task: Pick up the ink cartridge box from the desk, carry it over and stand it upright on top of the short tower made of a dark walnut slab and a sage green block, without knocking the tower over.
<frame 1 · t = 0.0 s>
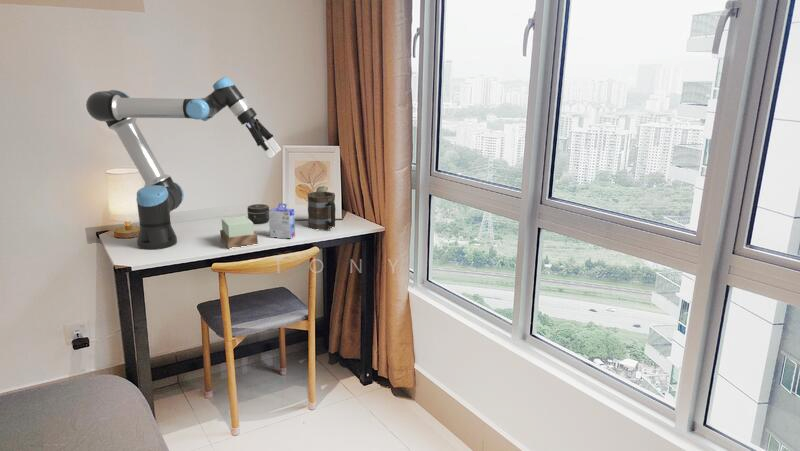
hand: (276, 153, 236), 36 cm above the table, tool tilted 35°, fingers open, 13 cm apart
ink cartridge box: (282, 237, 244), on the table
jar: (258, 222, 267), on the table
mug: (324, 227, 259), on the table
sage top block: (237, 232, 233), point 5 cm above the table, touching walnut base block
walnut base block: (239, 243, 235), on the table, touching sage top block
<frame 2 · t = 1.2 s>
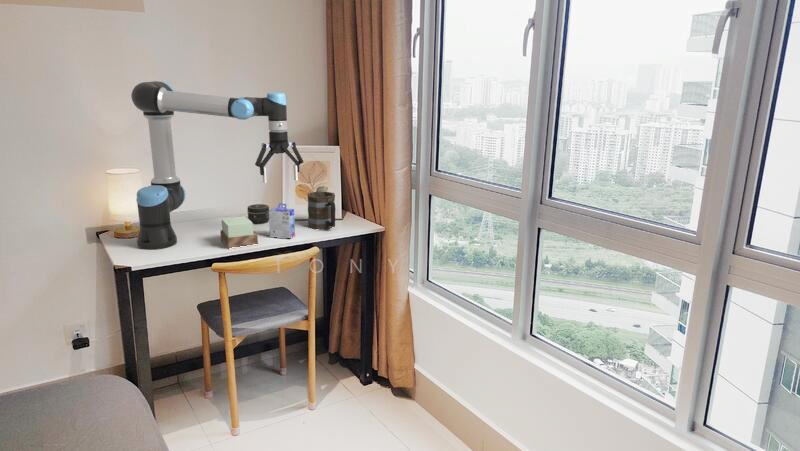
hand: (280, 181, 237), 24 cm above the table, tool pointing down, fingers open, 13 cm apart
nothing on the table moved.
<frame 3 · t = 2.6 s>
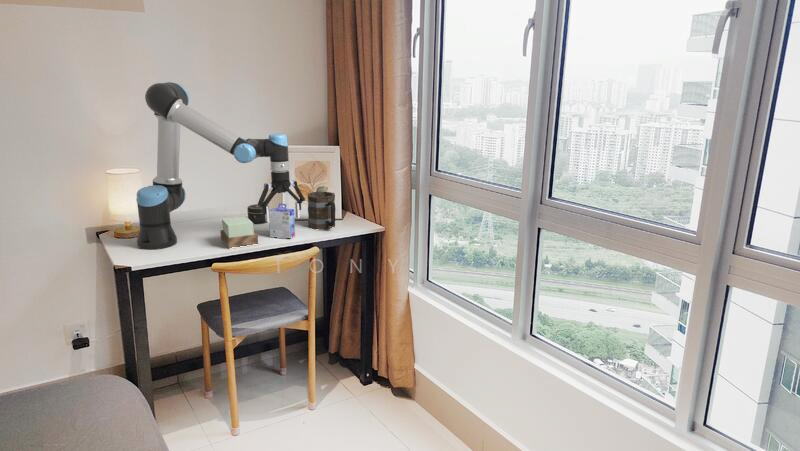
hand: (282, 219, 242), 8 cm above the table, tool pointing down, fingers open, 13 cm apart
nothing on the table moved.
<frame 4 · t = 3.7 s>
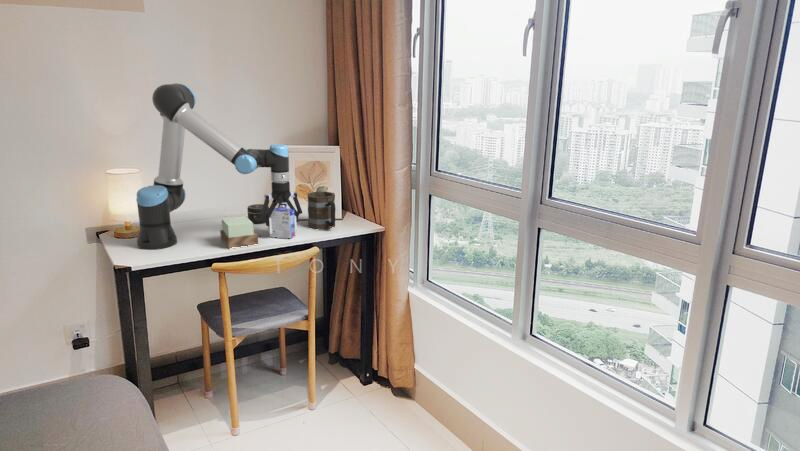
hand: (282, 231, 243), 2 cm above the table, tool pointing down, fingers closed on ink cartridge box, 10 cm apart
ink cartridge box: (282, 237, 244), on the table, touching gripper
everything else where it was.
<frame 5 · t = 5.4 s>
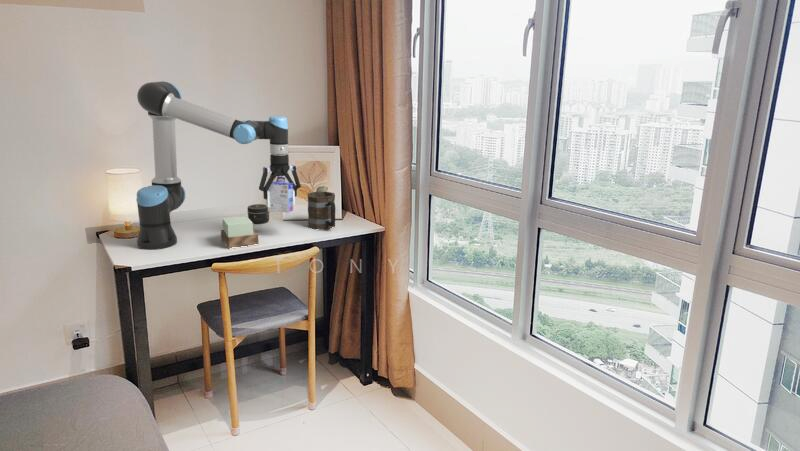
hand: (280, 205, 240), 14 cm above the table, tool pointing down, fingers closed on ink cartridge box, 10 cm apart
ink cartridge box: (280, 211, 241), point 11 cm above the table, touching gripper
everything else where it was.
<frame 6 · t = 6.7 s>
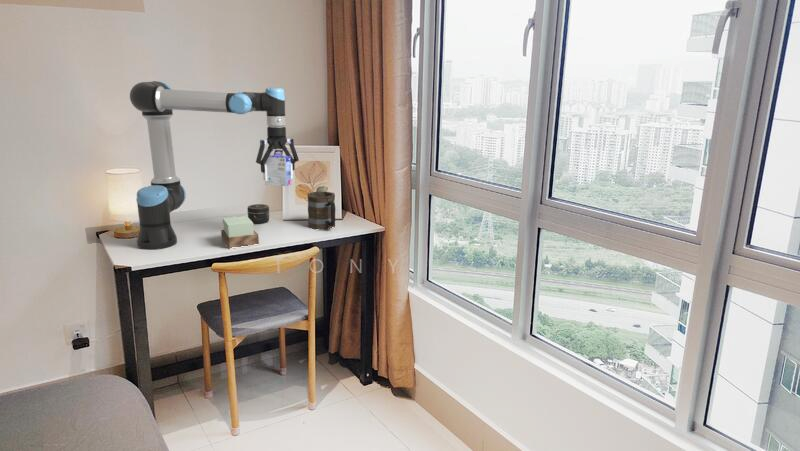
hand: (278, 179, 237), 26 cm above the table, tool pointing down, fingers closed on ink cartridge box, 10 cm apart
ink cartridge box: (278, 185, 237), point 23 cm above the table, touching gripper
everything else where it was.
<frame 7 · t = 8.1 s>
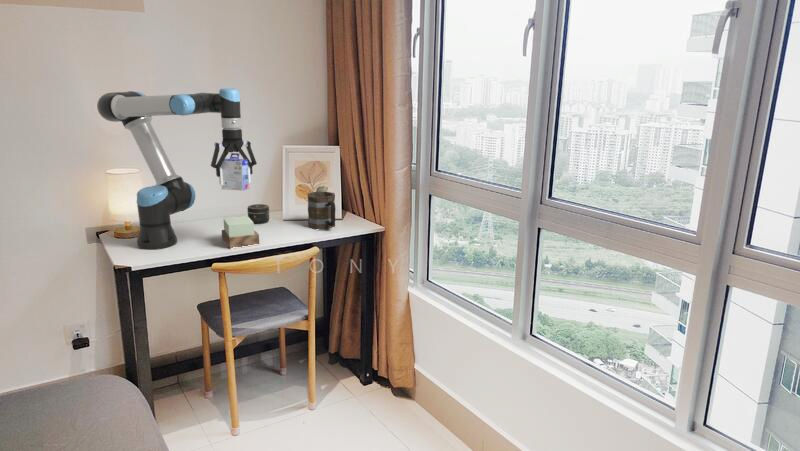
hand: (235, 183, 228), 25 cm above the table, tool pointing down, fingers closed on ink cartridge box, 10 cm apart
ink cartridge box: (235, 189, 229), point 23 cm above the table, touching gripper
everything else where it was.
when the fingers open (13 cm above the table, at t = 11.1 s): ink cartridge box drops 1 cm, resting on sage top block.
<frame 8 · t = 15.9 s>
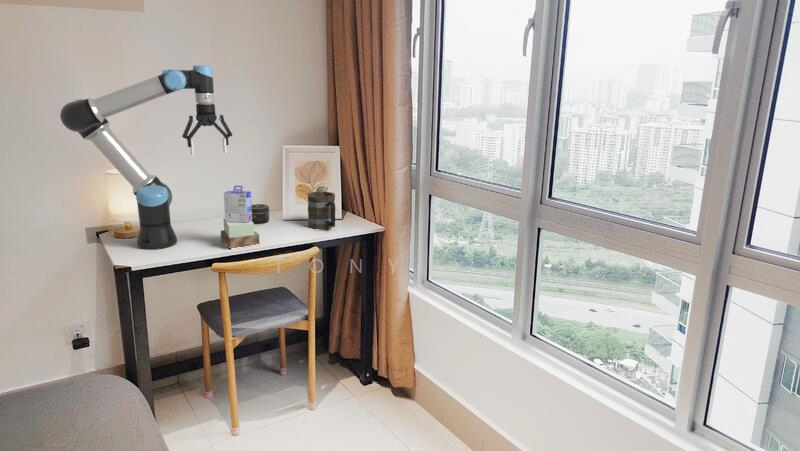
hand: (209, 154, 241), 35 cm above the table, tool pointing down, fingers open, 13 cm apart
ink cartridge box: (239, 221, 232), point 9 cm above the table, touching sage top block
sage top block: (239, 232, 233), point 5 cm above the table, touching ink cartridge box, walnut base block
everything else where it was.
at the end: ink cartridge box inside the target area on the walnut base block (0.2 cm from its centre), point 9.8 cm above the walnut base block's base; sage top block 0.3 cm off-centre on the walnut base block, point 5.0 cm above the walnut base block's base; ink cartridge box tilted 1° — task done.
